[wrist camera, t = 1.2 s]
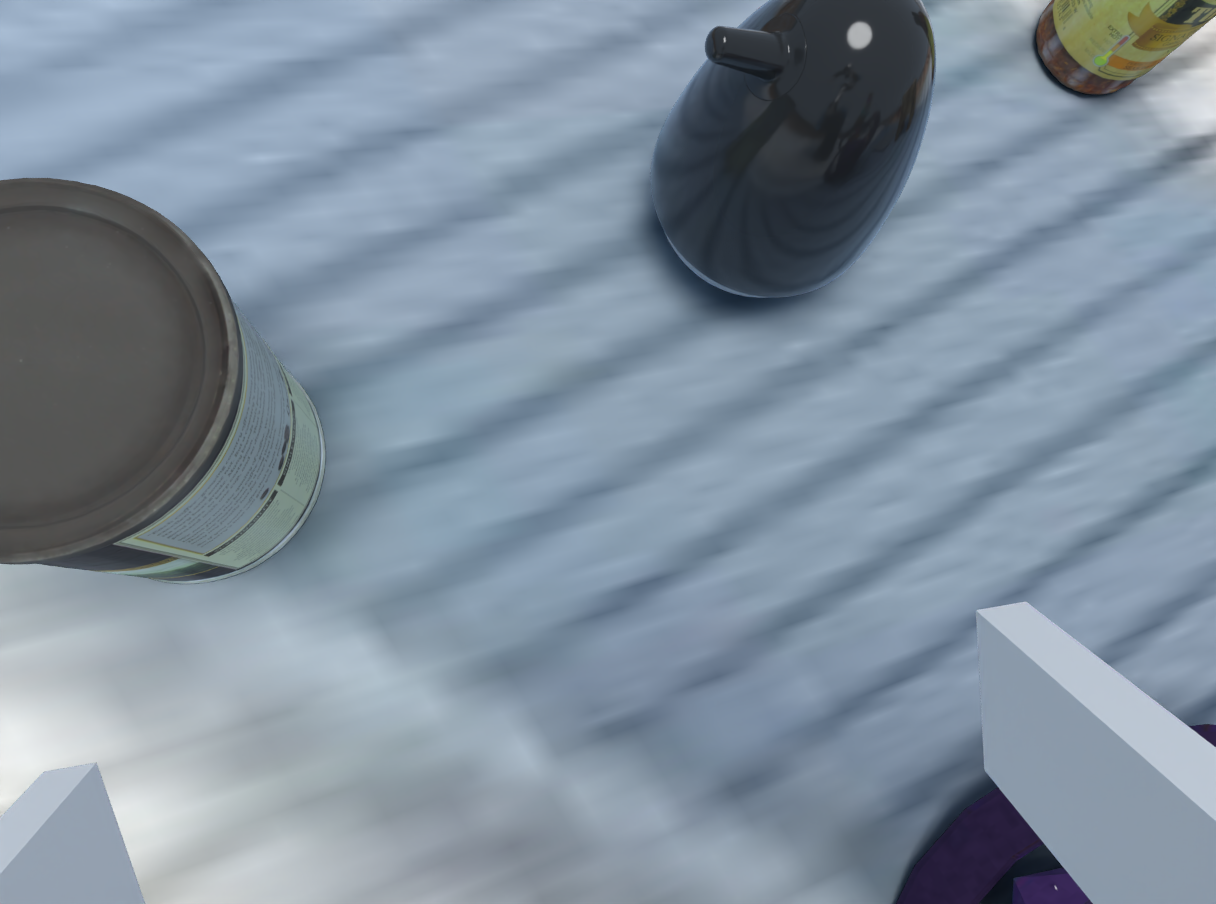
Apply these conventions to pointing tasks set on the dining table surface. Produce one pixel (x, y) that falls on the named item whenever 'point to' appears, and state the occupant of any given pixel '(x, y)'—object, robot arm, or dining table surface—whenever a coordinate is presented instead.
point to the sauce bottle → (1114, 38)
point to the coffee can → (138, 398)
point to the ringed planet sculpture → (992, 857)
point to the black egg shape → (794, 142)
